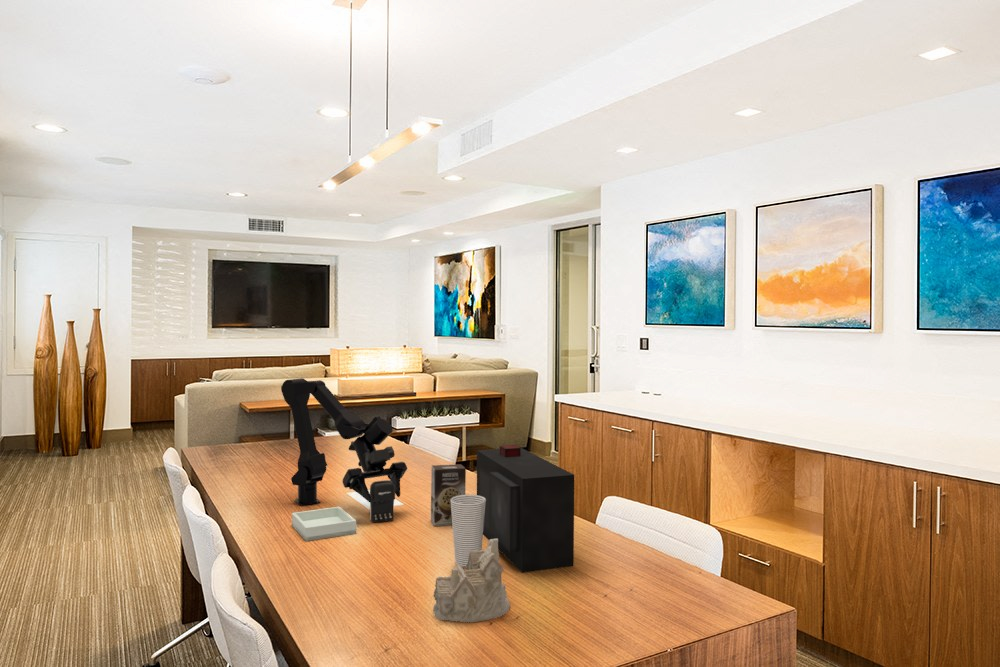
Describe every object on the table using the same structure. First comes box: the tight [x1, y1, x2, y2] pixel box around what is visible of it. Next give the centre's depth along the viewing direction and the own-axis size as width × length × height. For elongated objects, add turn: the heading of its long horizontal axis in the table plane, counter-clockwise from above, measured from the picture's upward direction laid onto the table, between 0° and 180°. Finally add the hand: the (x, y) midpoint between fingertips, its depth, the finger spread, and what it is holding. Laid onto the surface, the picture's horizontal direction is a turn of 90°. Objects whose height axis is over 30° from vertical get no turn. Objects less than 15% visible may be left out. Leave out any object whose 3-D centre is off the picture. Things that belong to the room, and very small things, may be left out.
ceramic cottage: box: [432, 539, 511, 623], centre depth 139 cm, size 16×16×15 cm
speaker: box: [476, 444, 575, 574], centre depth 175 cm, size 15×35×24 cm, turn 19°
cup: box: [450, 494, 486, 569], centre depth 163 cm, size 8×8×16 cm
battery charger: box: [369, 479, 396, 523], centre depth 196 cm, size 7×4×11 cm, turn 116°
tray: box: [291, 506, 357, 542], centre depth 188 cm, size 16×14×4 cm
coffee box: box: [430, 463, 467, 527], centre depth 195 cm, size 9×6×16 cm
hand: (385, 498), depth 195 cm, fingers open, 9 cm apart
